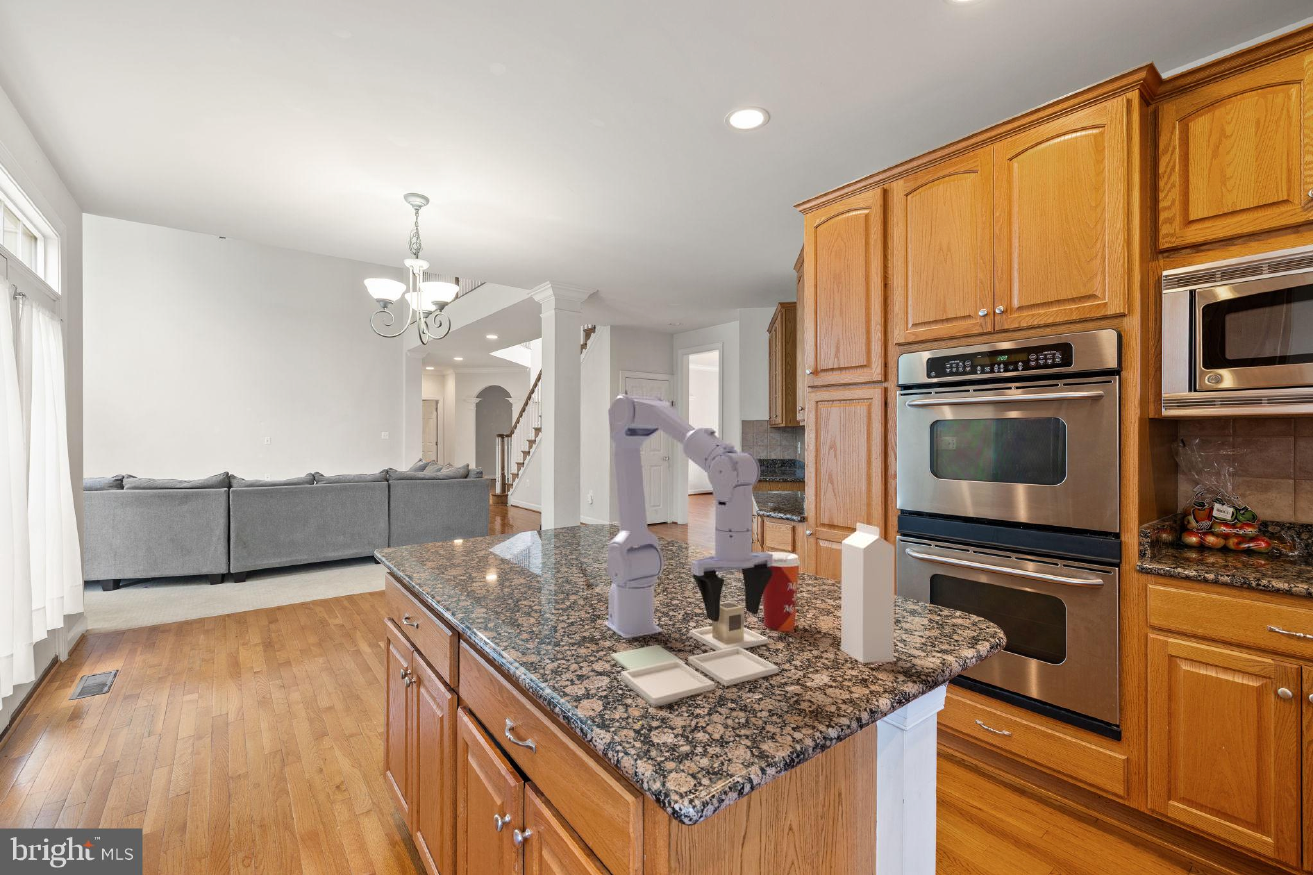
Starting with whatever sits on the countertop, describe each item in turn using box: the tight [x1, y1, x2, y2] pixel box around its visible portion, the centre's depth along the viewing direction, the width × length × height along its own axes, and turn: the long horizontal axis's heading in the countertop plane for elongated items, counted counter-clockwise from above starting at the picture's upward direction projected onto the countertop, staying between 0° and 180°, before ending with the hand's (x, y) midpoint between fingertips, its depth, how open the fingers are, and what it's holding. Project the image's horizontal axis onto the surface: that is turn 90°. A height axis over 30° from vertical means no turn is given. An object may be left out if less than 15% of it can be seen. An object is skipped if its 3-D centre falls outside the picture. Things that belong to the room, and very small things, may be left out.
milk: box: [840, 522, 895, 665], centre depth 95 cm, size 6×6×22 cm
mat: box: [609, 644, 686, 671], centre depth 92 cm, size 9×9×1 cm
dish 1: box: [620, 659, 715, 708], centre depth 83 cm, size 10×10×1 cm
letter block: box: [711, 600, 745, 644], centre depth 102 cm, size 4×4×6 cm
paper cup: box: [762, 551, 802, 632], centre depth 109 cm, size 8×8×14 cm
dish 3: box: [687, 646, 780, 687], centre depth 89 cm, size 10×10×1 cm
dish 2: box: [688, 626, 769, 651], centre depth 102 cm, size 10×10×1 cm
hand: (732, 615), depth 89 cm, fingers open, 7 cm apart
